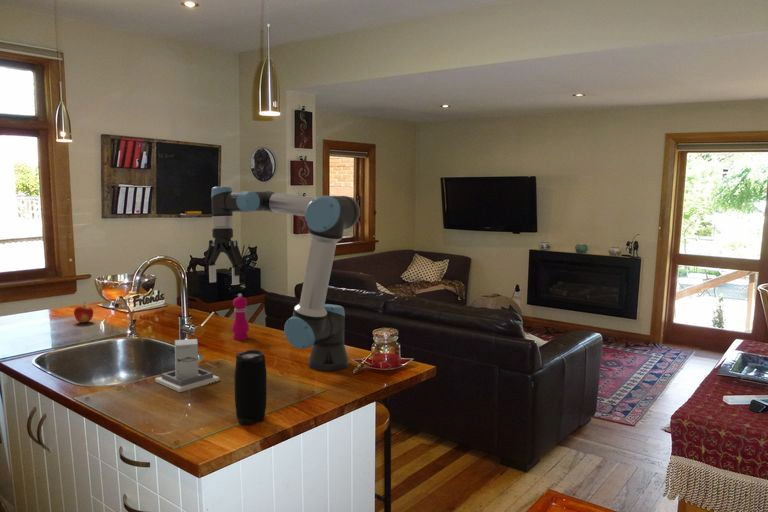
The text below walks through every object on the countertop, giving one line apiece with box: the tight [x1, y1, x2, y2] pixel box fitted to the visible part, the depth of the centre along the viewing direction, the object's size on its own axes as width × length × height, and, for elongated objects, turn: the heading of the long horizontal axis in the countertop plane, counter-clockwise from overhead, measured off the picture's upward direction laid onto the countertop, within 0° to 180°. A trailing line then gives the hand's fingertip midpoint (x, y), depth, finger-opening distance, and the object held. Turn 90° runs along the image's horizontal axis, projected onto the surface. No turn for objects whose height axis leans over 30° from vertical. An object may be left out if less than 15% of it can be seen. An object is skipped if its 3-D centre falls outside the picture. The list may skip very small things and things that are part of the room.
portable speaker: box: [233, 349, 268, 426], centre depth 161 cm, size 9×9×20 cm
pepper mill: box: [231, 293, 250, 341], centre depth 247 cm, size 7×7×20 cm
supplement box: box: [174, 338, 199, 380], centre depth 192 cm, size 7×7×13 cm
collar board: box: [154, 367, 220, 393], centre depth 192 cm, size 15×15×3 cm
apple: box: [73, 302, 94, 324], centre depth 270 cm, size 8×8×10 cm
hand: (224, 283), depth 215 cm, fingers open, 13 cm apart
